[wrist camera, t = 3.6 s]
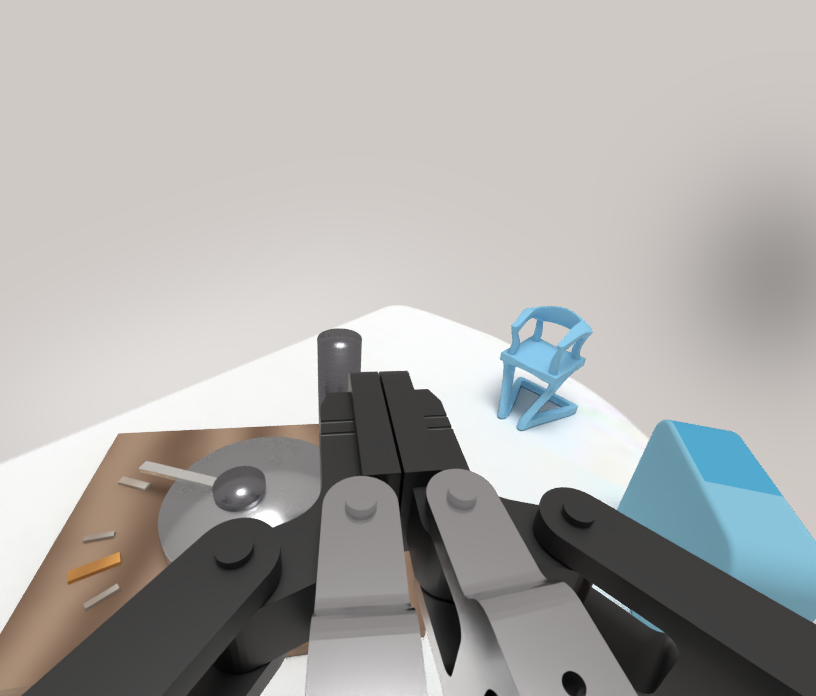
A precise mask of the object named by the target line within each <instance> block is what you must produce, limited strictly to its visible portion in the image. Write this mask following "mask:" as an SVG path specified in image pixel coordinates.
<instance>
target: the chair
mask: <svg viewBox="0 0 816 696" xmlns="http://www.w3.org/2000/svg"><path fill="white" fill-rule="evenodd" d="M531 318H535V319H537V323H536V328H535V332H534V335H533V336H532V337H530V338H528V339H526V340H525V341H523V342H521V343H520V340H519V335H518V332H519V330H520V329H521V328H522V326H523V325H524V324H525V323H526V322H527V321H528V320H529V319H531ZM543 321H547V322H553V323H556V324H559V325H562V326H564V327H567V328H569V329H570V331H569V333H568V334H567V335H566V336H565V337H564V338H563V340H562V341H561V342H560V343H559V344H558V345H557V347H556V346H553V345H551V344H550V343H548V342H546V341H544V340H542V339H540V338H541V335H542V329H543ZM592 332H593V331H592V329H591V327H590V326H589V325H588V324H587V323H586V322H585V321H584V320H583V319H582V318H581V317H580V316H578V315H577V314H576V313H574V312H573V311H571V310H569V309H567V308H563V307H556V306H542V307H534V308H527V309H525V310H523V311H522V313H521V314H520V316H519V317H518V318H517V320H516V321H515V322H514V323H513V324H512V340H513V341H512V345H511V347H510V348H509V349H507V350H505V351H503V352H501V357H500V360H502V361H503V363H504V370H503V382H502V391H501V400H500V408H499V411H498V415H497V416H498V417H499V418H501V419H503V418H506V417H507V416H508V414H509V413H510V411H511V409H512V407H513V405H514V402H515V400H516V397H517V394H518V392H519V389H520V387H521V386H523V387H525V388H527V389H529V390H531V391H533V392H535V393H537V394H539V395H540V397H539V398H538V399H537V400H536V402H535V403H534V404H533V405H532V406H531V407H530V408H529V409H528V410H527V411H526V412H525V413H524V414H523V415H522V416H521V418H520V419H519V422H518V425H517V429H519V430H526V429H528V428H530V427H533V426H536V425H539V424H542V423H546V422H549V421H553V420H557V419H560V418H564V417H567V416H570V415H573V414H575V413H576V410H577V407H578V406H577V405H576V404H574V403H572V402H570V401H568V400H566V399H564V398H562V397H560V396H558V395H556V394H555V391H556V390H557V389H558V388H559V387H560V386H561V385H562V384H563V382H564V381H565V380H566V379H567V378H568V377H569V376H570V375H571V374H572V373H573V372H574V371H576V370H578V369H579V368H581V367H582V366H583V365H584V363H585V358H583V357H580V350H581V347H582V345H583V344H584V342H585V341H586V339H587V338H588V337H589V336H590V335H591V334H592ZM575 342H576V343H575ZM574 343H575V344H574ZM573 344H574V346H573V348H572V353H571V352H568V351H566V350H567V349H568V348H569V347H570V346H571V345H573ZM515 367H519V368H521V369H523V370H525V371H527V372H529V373H531V374H533V375H535V376H536V377H538V378H539V379H541V380H543V381H544V382H546V383H548V384H549V386H548V388H547V389H545V388H543V387H541V386H539V385H537V384H535V383H533V382H531V381H529V380H527V379H525V378H523V377H519V378H518V379H517V380H516V381H515V383H514V385H513V387H512V384H513V377H514V371H515ZM548 400H550V401H552V402H554V403H556V404H558V405H560V406H562V407H561V408H557V409H552V410H548V411H543V412H539V413H537V412H538V411H539V409H540V408H541V407H542V406H543V405H544V404H545V403H546V402H547V401H548Z"/></svg>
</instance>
